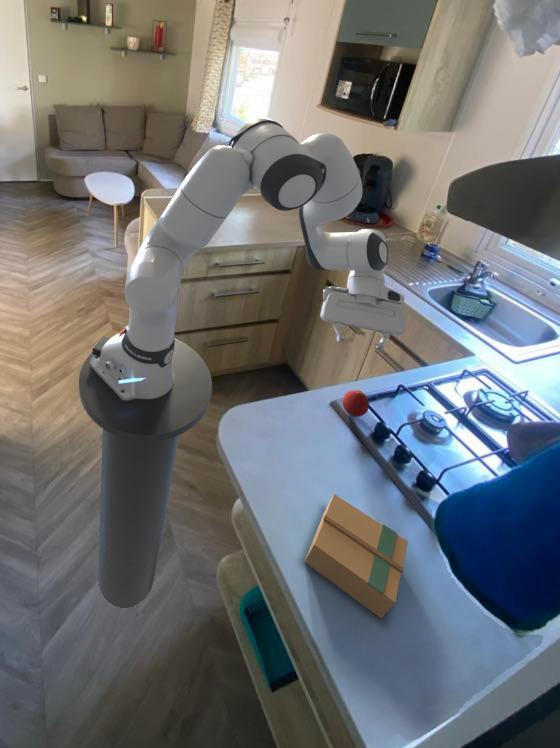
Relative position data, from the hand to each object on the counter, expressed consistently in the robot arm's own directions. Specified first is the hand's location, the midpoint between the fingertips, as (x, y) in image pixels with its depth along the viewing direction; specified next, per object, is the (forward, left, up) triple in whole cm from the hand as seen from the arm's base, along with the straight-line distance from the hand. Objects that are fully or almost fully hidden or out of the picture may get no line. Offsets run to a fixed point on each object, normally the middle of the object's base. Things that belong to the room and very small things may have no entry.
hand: (359, 345), depth 105 cm
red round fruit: (+4, -9, -13) cm, 17 cm away
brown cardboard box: (+13, -42, -13) cm, 46 cm away
